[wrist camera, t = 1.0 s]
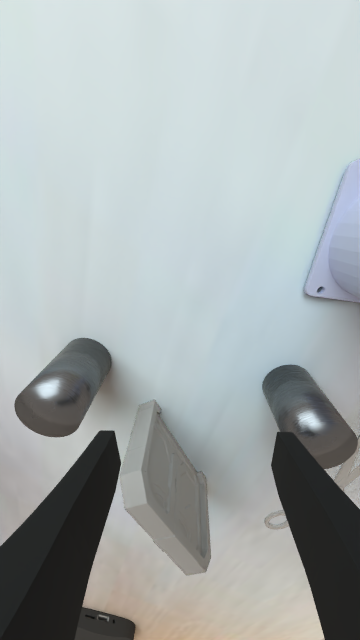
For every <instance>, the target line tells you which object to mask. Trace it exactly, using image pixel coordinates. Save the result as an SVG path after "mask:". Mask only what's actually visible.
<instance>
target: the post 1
mask: <svg viewBox="0 0 360 640" xmlns="http://www.w3.org/2000/svg"><path fill="white" fill-rule="evenodd" d="M110 367H111V357H110V354H109V352H108V351H107V349H106V348H105V347H104V346H103V345H102V344H100V343H99V342H97V341H95V340H92V339H88V338H79V339H75V340H73V341H71V342H70V343H69V344H68V345H67V346H66V347H65V348H64V349H63V350H62V351H61V352H60V353H59V354H58V355H57V356H56V357H55V358H54V359H53V360H52V361H51V362H50V363H49V364H48V365H47V366H46V367H45V368H44V369H43V370H42V371H41V372H40V373H39V374H38V376H37V377H36V378H35V379H34V380H33V381H32V382H31V383H30V384H29V385H28V386H27V387H26V388H25V389H24V390H23V391H22V392H21V393H20V394H19V395H18V396H17V398H16V400H15V411H16V414H17V416H18V418H19V419H20V421H21V422H22V423H23V424H24V425H25V426H26V427H28V428H29V429H31V430H32V431H34V432H36V433H38V434H41V435H44V436H49V437H64V436H68V435H70V434H72V433H73V432H75V431H76V430H77V429H78V427H79V425H80V424H81V422H82V420H83V418H84V416H85V414H86V412H87V411H88V409H89V407H90V405H91V403H92V401H93V399H94V397H95V396H96V394H97V392H98V390H99V388H100V386H101V384H102V382H103V381H104V379H105V377H106V375H107V373H108V371H109V369H110Z"/></svg>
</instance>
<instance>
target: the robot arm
mask: <svg viewBox="0 0 360 640" xmlns="http://www.w3.org/2000/svg"><path fill="white" fill-rule="evenodd" d="M319 287H322V290H321V291H320V292H317V289H318V288H319ZM304 292H305V293H306V294H307V295H309V296H314V297H322V298H329V299H337V300H344V301H352V302H359V303H360V159H357V160H354V161H352V162H350V163H349V165H348V166H347V168H346V170H345V173H344V175H343V178H342V181H341V184H340V187H339V190H338V193H337V195H336V198H335V201H334V204H333V207H332V210H331V212H330V215H329V218H328V221H327V224H326V227H325V230H324V232H323V235H322V238H321V241H320V244H319V247H318V249H317V252H316V255H315V258H314V261H313V264H312V267H311V269H310V272H309V275H308V278H307V281H306V284H305V286H304ZM120 466H121V461H120V456H119V451H118V446H117V441H116V436H115V431H99V432H98V434H97V435H96V436H95V437H94V439H93V440H92V441H91V443H90V444H89V445H88V447H87V448H86V449H85V451H84V452H83V453H82V455H81V456H80V457H79V458H78V460H77V461H76V462H75V464H74V465H73V466H72V467H71V468H70V470H69V471H68V472H67V473H66V475H65V476H64V477H63V478H62V480H61V481H60V482H59V483H58V484H57V486H56V487H55V488H54V489H53V490H52V491H51V492H50V494H49V495H48V496H47V497H46V498H45V499H44V500H43V502H42V503H41V504H40V505H39V506H38V507H37V508H36V510H35V511H34V512H33V513H32V514H31V515H30V516H29V517H28V518H27V519H26V520H25V522H24V523H23V524H22V525H21V526H20V527H19V528H18V529H17V530H16V531H15V532H14V533H13V534H12V535H11V536H10V537H9V538H8V539H7V540H6V541H5V542H4V543H3V544H2V545H1V546H0V640H75V635H76V631H77V626H78V622H79V617H80V613H81V609H82V605H83V600H84V596H85V592H86V588H87V584H88V579H89V576H90V572H91V568H92V565H93V561H94V558H95V555H96V552H97V548H98V545H99V542H100V539H101V536H102V532H103V529H104V526H105V523H106V520H107V516H108V513H109V510H110V507H111V503H112V500H113V497H114V493H115V490H116V485H117V480H118V476H119V471H120ZM271 467H272V471H273V475H274V479H275V483H276V487H277V491H278V495H279V498H280V501H281V504H282V506H283V509H284V512H285V515H286V518H287V521H288V524H289V526H290V529H291V532H292V535H293V538H294V540H295V543H296V546H297V549H298V552H299V555H300V557H301V560H302V563H303V566H304V569H305V572H306V575H307V578H308V581H309V584H310V587H311V591H312V594H313V598H314V602H315V605H316V609H317V612H318V616H319V619H320V623H321V627H322V630H323V634H324V638H325V640H360V509H359V508H358V507H357V506H356V505H355V504H354V503H353V502H352V501H351V500H350V498H349V497H348V496H347V495H346V494H345V493H344V492H343V491H342V490H341V488H340V487H339V486H338V485H337V484H336V483H335V482H334V481H333V479H332V478H331V477H330V476H329V475H328V474H327V473H326V471H325V470H324V469H323V468H322V467H321V466H320V464H319V463H318V462H317V461H316V460H315V458H314V457H313V456H312V455H311V454H310V452H309V451H308V450H307V449H306V448H305V446H304V445H303V444H302V443H301V441H300V440H299V439H298V438H297V437H296V435H295V434H294V433H293V432H277V436H276V442H275V447H274V453H273V458H272V464H271Z"/></svg>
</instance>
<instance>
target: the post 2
mask: <svg viewBox="0 0 360 640" xmlns="http://www.w3.org/2000/svg"><path fill="white" fill-rule="evenodd" d="M262 388H263V392H264V394H265V397H266V399H267V401H268V404H269V406H270V408H271V411H272V413H273V416H274V418H275V420H276V423H277V425H278V428H279V430H280V432H293V433H294V434H295V435H296V437H297V438H298V439H299V440H300V441H301V443H302V444H303V445H304V446H305V448H306V449H307V450H308V451H309V452H310V454H311V455H312V456H313V457H314V458H315V460H316V461H317V462H318V463H319V464H320V466H321V467H322V468H323V469H327V468H332V467H335V466H338V465H340V464H342V463H344V462H345V461H347V460H348V459H349V458H350V457H351V456H352V455H353V454H354V453H355V451H356V449H357V446H358V440H357V437H356V435H355V433H354V432H353V431H352V430H351V428H350V427H349V426H348V424H347V423H346V422H345V420H344V419H343V418H342V416H341V415H340V414H339V413H338V411H337V410H336V409H335V407H334V406H333V405H332V403H331V402H330V401H329V399H328V398H327V397H326V395H325V394H324V393H323V392H322V390H321V389H320V388H319V386H318V385H317V384H316V382H315V381H314V380H313V378H312V377H311V376H310V374H309V373H308V372H307V371H306V370H305V369H304V368H302V367H300V366H297V365H283V366H280V367H277V368H275V369H273V370H272V371H271V372H269V373H268V374H267V376H266V377H265V379H264V381H263V385H262Z"/></svg>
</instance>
